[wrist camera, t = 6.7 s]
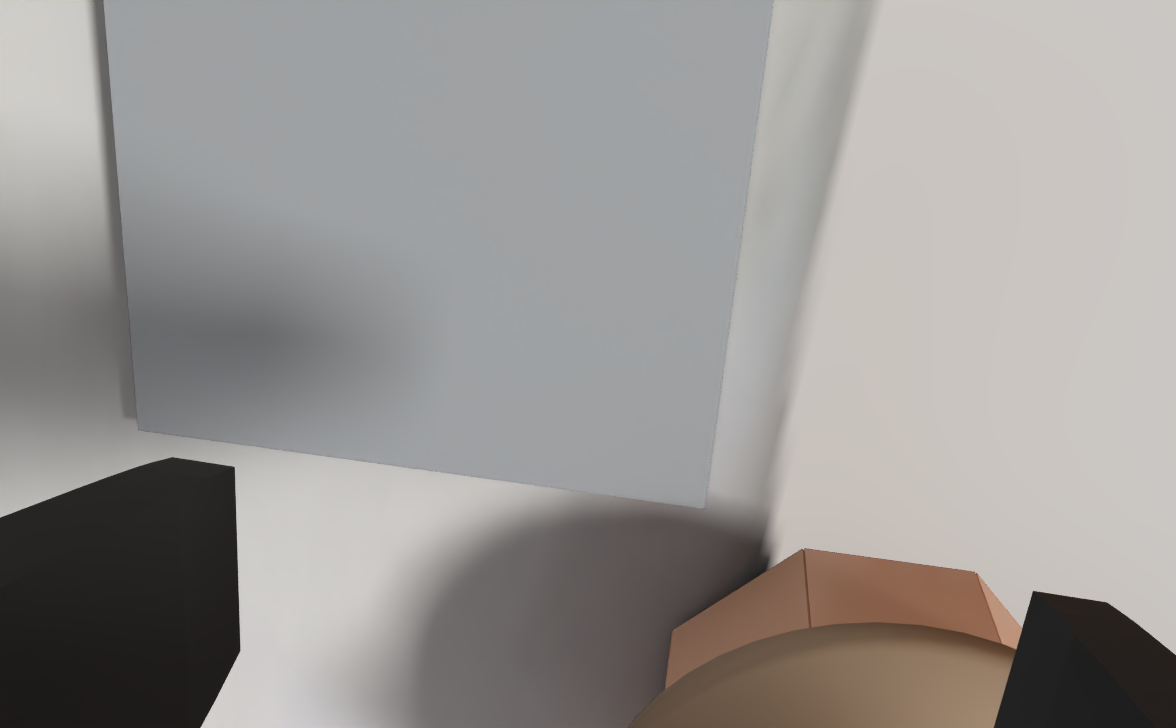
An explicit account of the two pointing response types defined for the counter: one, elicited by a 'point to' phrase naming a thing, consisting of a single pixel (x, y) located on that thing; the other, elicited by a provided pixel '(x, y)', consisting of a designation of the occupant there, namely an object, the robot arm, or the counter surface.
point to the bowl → (840, 604)
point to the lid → (842, 681)
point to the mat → (439, 229)
